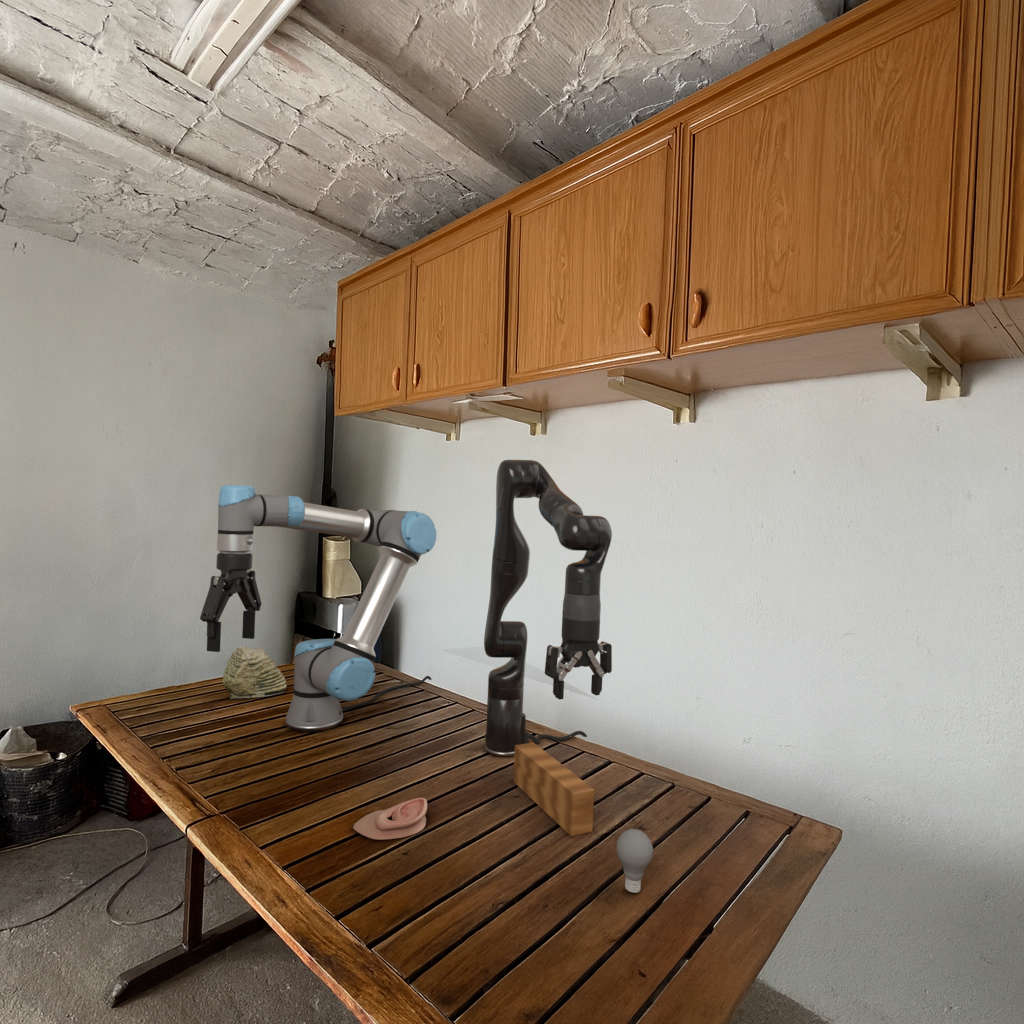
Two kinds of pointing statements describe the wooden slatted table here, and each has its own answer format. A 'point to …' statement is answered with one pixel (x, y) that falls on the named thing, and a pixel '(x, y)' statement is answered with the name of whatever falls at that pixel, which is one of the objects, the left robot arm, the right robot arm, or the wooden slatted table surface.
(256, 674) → the fossil
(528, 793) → the bar
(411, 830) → the anatomical model
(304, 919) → the wooden slatted table surface
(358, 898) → the wooden slatted table surface
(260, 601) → the left robot arm
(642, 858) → the light bulb
